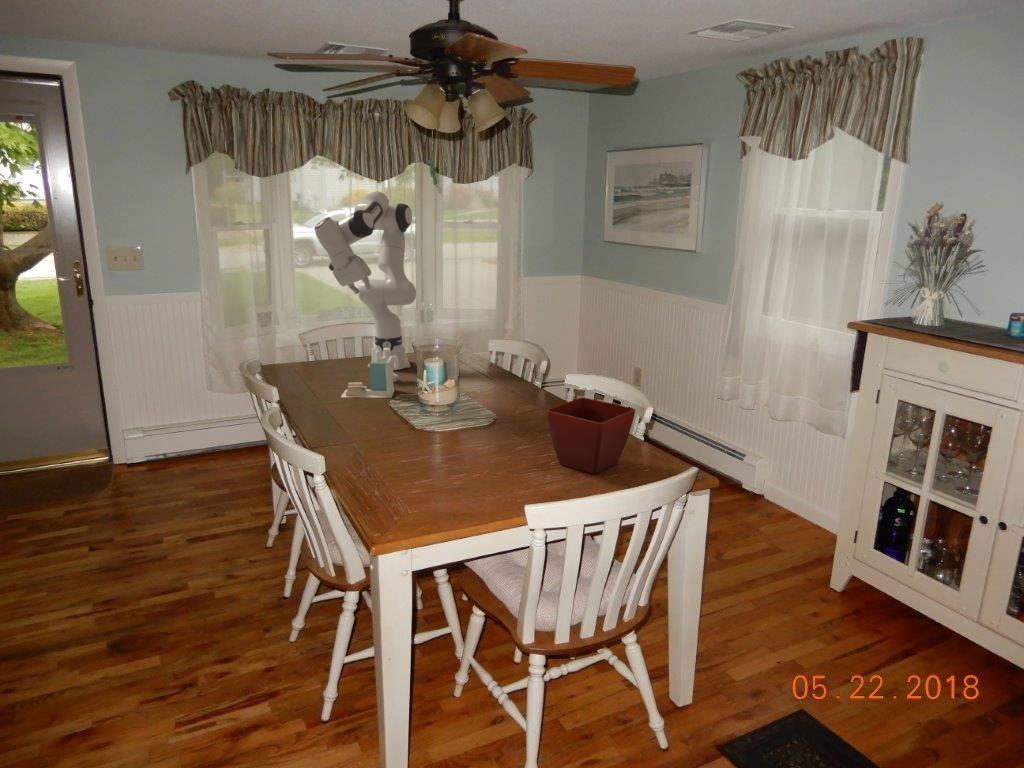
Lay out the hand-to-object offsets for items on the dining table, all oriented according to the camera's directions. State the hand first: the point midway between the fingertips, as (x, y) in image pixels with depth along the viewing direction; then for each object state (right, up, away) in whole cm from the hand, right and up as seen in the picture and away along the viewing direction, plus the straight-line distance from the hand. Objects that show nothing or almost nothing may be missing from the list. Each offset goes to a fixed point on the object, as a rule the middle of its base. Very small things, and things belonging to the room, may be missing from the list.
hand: (363, 291), depth 274 cm
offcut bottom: (-3, -39, -1) cm, 39 cm away
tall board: (+6, -39, -1) cm, 40 cm away
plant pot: (+80, -59, -63) cm, 118 cm away
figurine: (+6, -36, +18) cm, 41 cm away
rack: (+2, -41, 0) cm, 41 cm away
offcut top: (-3, -38, -2) cm, 38 cm away
